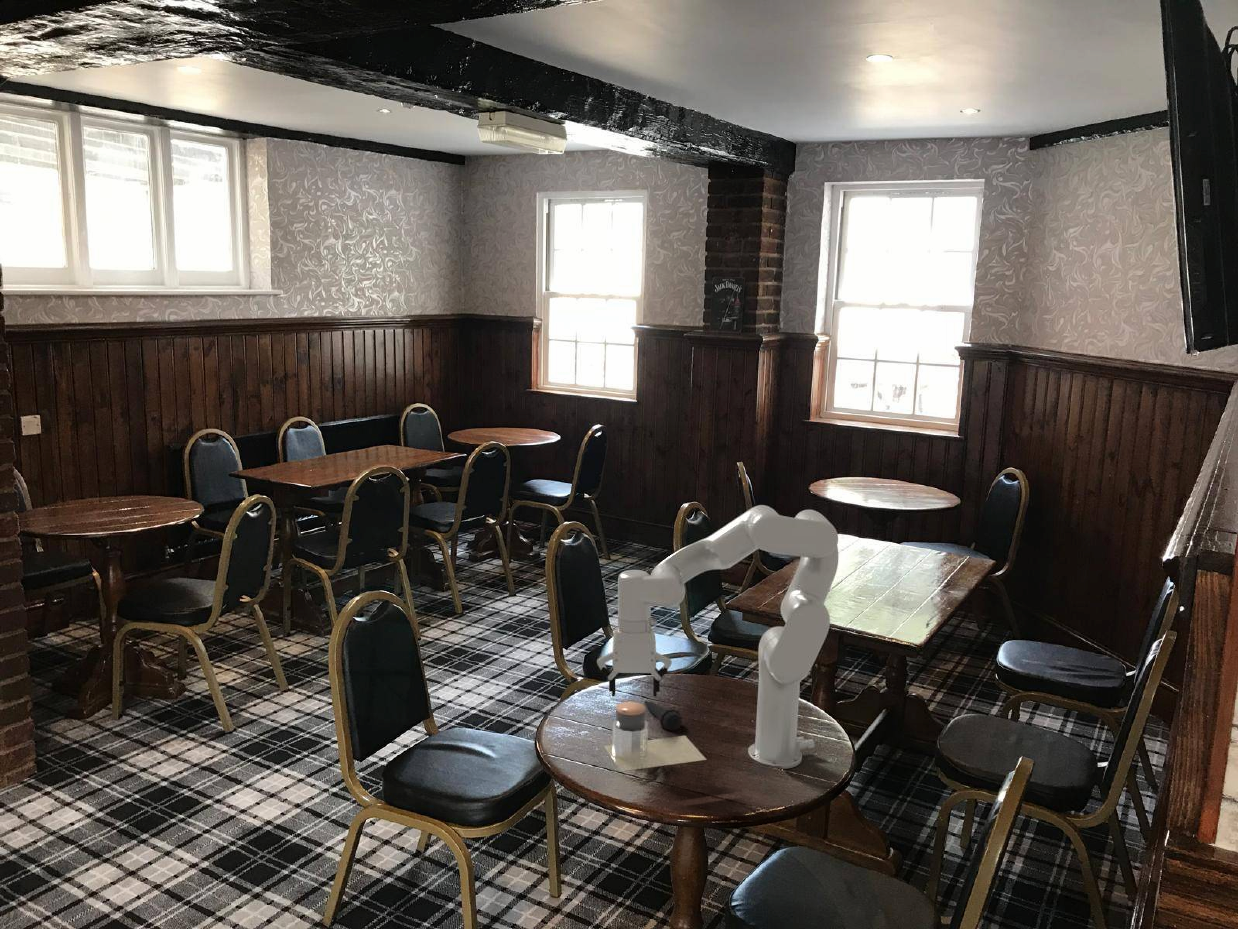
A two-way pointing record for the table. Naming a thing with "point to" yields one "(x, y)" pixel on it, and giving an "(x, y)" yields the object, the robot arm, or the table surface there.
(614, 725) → the cylinder on base plate
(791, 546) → the robot arm
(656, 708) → the microphone
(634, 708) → the peach ball on collar
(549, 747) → the table surface
